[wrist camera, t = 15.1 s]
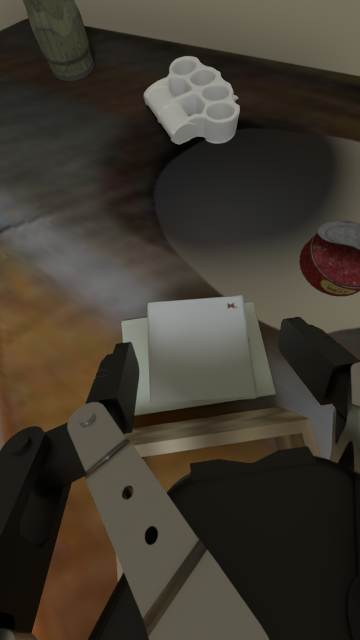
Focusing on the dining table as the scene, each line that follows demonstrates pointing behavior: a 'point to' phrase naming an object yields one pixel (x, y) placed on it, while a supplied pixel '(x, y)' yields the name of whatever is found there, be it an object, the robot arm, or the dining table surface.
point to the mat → (139, 337)
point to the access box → (224, 434)
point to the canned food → (333, 259)
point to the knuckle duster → (194, 103)
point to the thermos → (61, 37)
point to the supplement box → (199, 350)
